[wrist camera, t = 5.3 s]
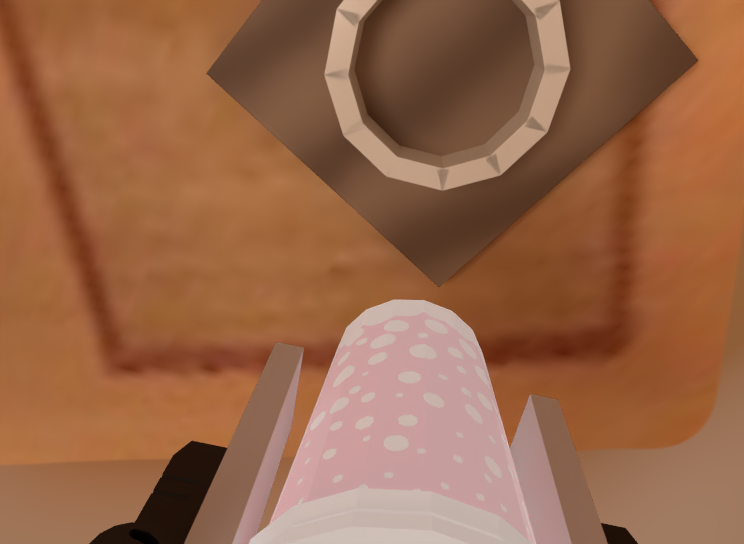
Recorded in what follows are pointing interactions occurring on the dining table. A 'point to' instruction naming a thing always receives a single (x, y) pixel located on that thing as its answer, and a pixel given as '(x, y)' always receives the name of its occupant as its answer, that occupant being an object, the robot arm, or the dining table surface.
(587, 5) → the holder
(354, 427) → the beverage cup
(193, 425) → the dining table surface
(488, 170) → the ring
